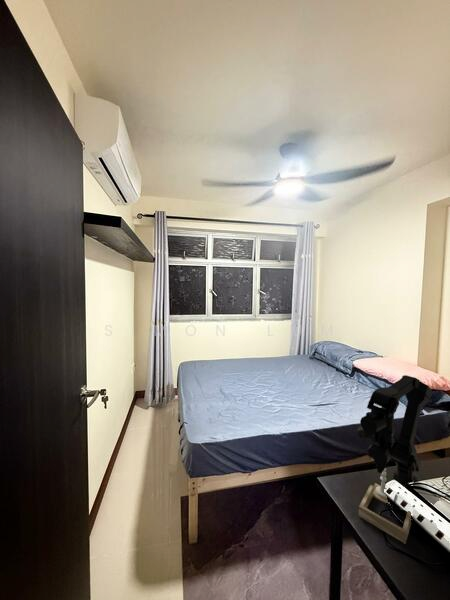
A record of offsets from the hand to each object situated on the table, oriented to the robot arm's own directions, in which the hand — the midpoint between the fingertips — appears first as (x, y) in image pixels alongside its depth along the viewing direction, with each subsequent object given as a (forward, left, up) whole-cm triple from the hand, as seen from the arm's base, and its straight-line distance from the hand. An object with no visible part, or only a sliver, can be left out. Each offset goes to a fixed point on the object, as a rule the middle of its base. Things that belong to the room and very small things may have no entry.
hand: (383, 466), depth 92 cm
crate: (+8, +3, -11) cm, 14 cm away
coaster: (0, 0, -11) cm, 11 cm away
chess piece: (0, 0, -11) cm, 11 cm away
